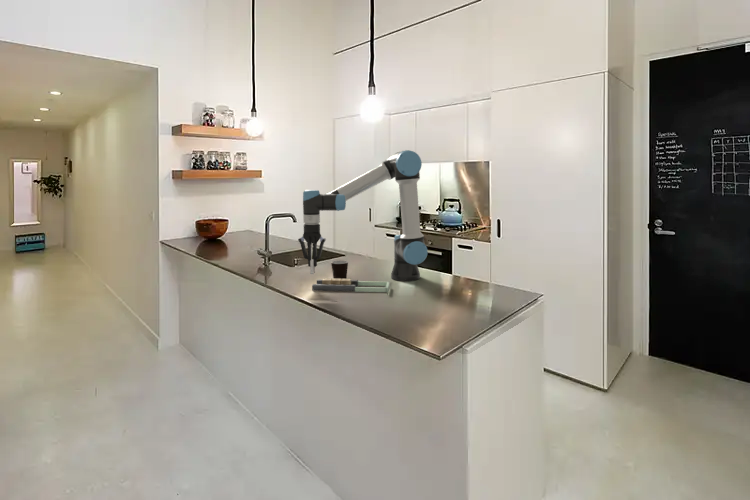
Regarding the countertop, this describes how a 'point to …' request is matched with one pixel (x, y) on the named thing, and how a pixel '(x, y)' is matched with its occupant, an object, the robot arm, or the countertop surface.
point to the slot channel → (334, 286)
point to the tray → (372, 289)
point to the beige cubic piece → (346, 282)
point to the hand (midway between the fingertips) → (312, 273)
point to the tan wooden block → (336, 281)
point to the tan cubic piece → (327, 281)
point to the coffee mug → (339, 269)
